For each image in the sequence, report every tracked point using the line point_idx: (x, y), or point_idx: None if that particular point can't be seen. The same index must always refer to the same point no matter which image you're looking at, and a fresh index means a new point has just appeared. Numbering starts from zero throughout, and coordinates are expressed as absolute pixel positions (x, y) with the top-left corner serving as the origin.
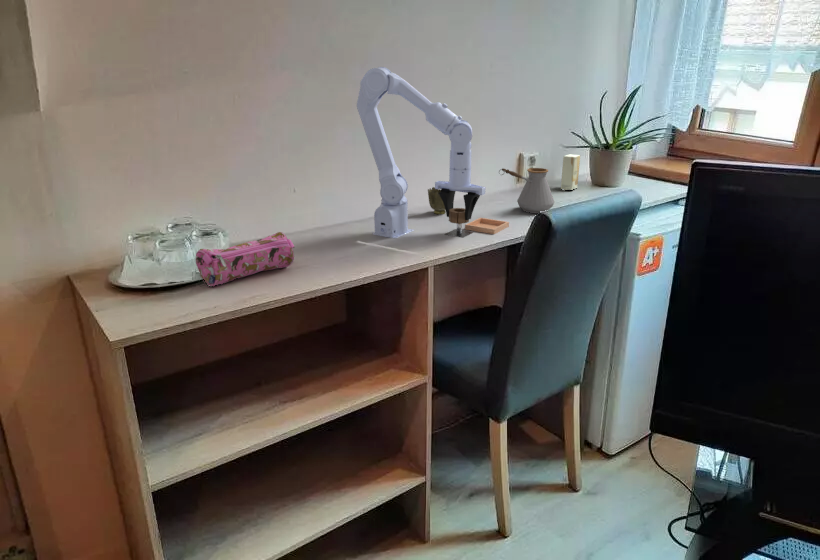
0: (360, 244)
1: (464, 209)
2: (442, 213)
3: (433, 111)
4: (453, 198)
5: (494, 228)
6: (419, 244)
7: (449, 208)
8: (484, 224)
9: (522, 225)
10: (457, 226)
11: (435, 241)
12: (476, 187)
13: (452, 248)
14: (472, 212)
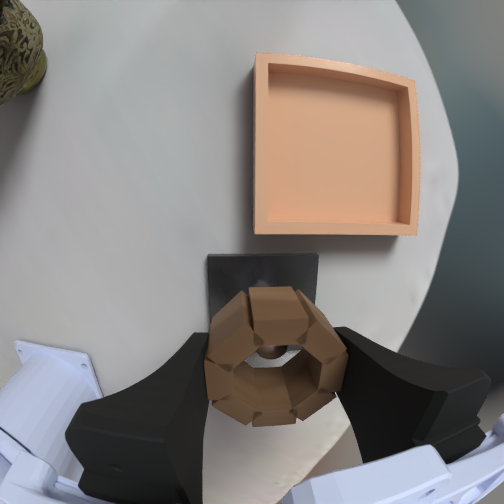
0: None
1: (301, 342)
2: (39, 76)
3: None
4: (186, 398)
5: (412, 218)
6: (203, 442)
7: (205, 400)
8: (298, 95)
9: (414, 39)
10: None
11: None
12: (488, 484)
13: (315, 424)
14: (366, 339)
